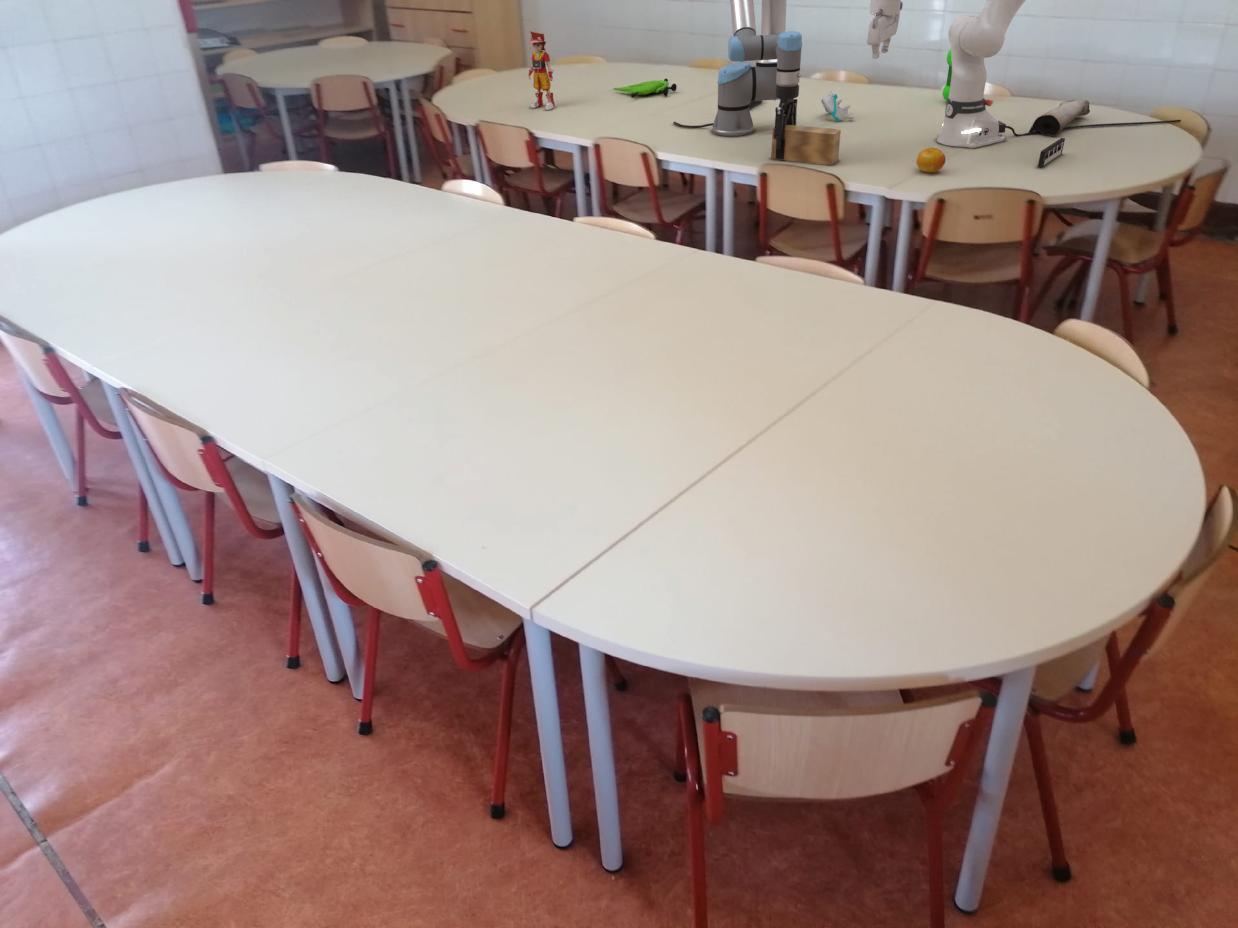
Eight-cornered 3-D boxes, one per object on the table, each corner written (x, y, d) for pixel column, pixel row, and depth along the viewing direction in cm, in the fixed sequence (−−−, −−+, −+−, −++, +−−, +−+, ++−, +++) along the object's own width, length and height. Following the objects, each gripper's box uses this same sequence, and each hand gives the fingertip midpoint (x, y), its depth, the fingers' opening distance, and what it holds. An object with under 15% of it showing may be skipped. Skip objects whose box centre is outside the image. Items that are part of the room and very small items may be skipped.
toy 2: (686, 85, 398) (631, 84, 414) (685, 72, 395) (629, 72, 411) (651, 104, 381) (596, 103, 397) (650, 92, 378) (594, 91, 394)
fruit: (910, 163, 282) (927, 140, 279) (912, 165, 290) (928, 143, 287) (933, 178, 281) (950, 155, 278) (933, 180, 289) (950, 157, 286)
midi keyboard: (1041, 167, 283) (1045, 151, 280) (1037, 167, 283) (1040, 151, 280) (1062, 154, 293) (1065, 138, 290) (1057, 153, 294) (1061, 137, 291)
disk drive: (747, 111, 360) (763, 102, 370) (747, 104, 359) (763, 95, 369) (724, 109, 365) (740, 100, 375) (724, 101, 363) (740, 93, 373)
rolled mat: (1057, 104, 331) (1081, 87, 323) (1070, 125, 332) (1095, 108, 324) (1024, 126, 314) (1049, 109, 306) (1039, 148, 314) (1064, 131, 306)
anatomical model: (816, 90, 346) (842, 83, 346) (819, 117, 352) (844, 110, 352) (827, 99, 334) (853, 92, 333) (830, 127, 340) (856, 120, 339)
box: (771, 159, 306) (772, 128, 300) (778, 154, 310) (779, 124, 304) (832, 165, 296) (834, 134, 291) (838, 160, 301) (840, 129, 295)
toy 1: (525, 109, 381) (517, 32, 364) (534, 104, 388) (527, 28, 371) (550, 110, 377) (543, 32, 360) (559, 105, 384) (553, 28, 367)
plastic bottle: (973, 101, 354) (984, 32, 339) (955, 106, 349) (966, 36, 335) (952, 97, 361) (962, 29, 346) (934, 102, 356) (944, 33, 342)
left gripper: (787, 92, 285) (783, 165, 298) (809, 78, 298) (804, 149, 311) (765, 90, 288) (762, 162, 301) (788, 77, 302) (784, 147, 315)
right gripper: (885, 13, 269) (879, 62, 277) (904, 2, 283) (899, 50, 291) (864, 12, 272) (860, 61, 280) (884, 2, 286) (879, 49, 294)
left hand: (783, 155), depth 306 cm, fingers open, 7 cm apart
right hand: (880, 55), depth 286 cm, fingers open, 8 cm apart
